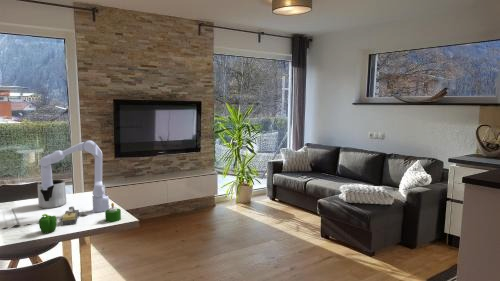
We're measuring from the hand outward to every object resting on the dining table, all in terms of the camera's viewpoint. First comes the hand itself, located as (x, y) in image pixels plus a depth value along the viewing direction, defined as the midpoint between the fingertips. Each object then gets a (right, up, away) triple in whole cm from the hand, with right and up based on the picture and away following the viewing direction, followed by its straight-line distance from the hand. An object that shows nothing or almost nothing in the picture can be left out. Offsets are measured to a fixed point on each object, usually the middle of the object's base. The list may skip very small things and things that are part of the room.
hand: (48, 199), depth 217 cm
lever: (+15, -7, -2) cm, 17 cm away
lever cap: (+18, -9, -11) cm, 23 cm away
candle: (+41, -11, -7) cm, 43 cm away
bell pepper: (+14, -13, -25) cm, 32 cm away
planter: (-10, -8, +23) cm, 26 cm away
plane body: (+16, -11, -5) cm, 20 cm away
